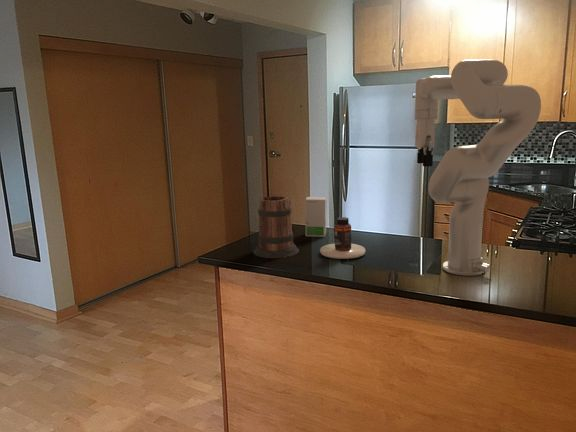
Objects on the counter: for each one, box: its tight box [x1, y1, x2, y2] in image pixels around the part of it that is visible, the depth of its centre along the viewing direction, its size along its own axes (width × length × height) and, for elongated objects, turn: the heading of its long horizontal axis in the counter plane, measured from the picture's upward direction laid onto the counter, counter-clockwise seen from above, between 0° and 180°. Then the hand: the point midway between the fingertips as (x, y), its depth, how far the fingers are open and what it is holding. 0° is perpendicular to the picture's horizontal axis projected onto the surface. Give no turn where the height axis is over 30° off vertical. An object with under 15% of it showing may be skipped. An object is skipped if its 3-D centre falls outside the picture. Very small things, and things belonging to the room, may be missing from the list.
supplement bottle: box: [334, 216, 353, 251], centre depth 167 cm, size 6×6×11 cm
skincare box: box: [304, 196, 327, 238], centre depth 193 cm, size 8×7×16 cm
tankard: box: [253, 195, 300, 259], centre depth 175 cm, size 24×17×20 cm
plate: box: [319, 242, 366, 260], centre depth 168 cm, size 16×16×2 cm
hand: (424, 164), depth 166 cm, fingers open, 9 cm apart
